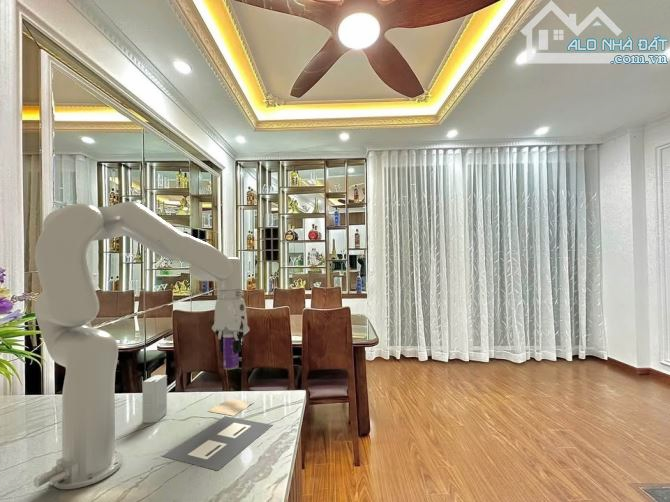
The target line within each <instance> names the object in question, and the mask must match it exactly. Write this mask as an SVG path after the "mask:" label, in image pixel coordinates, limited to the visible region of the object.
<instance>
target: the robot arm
mask: <svg viewBox="0 0 670 502" xmlns="http://www.w3.org/2000/svg"><path fill="white" fill-rule="evenodd" d="M120 237H128V238H130V239H131V240H133V241H135V242H136V243H138V244H140V245H141V246H143V247H145V248H146V249H148V250H150V251H152V252H153V253H154V254H156V255H157V256H159V257H163V258H166V259H168V260H172V261H178V262H183V263H185V264H190V265H189V273H190V275H191V277H192V278H193V279H195V280H196V281H200V282H216V286H217V288H216V289H217V290H216V291H217V292H216V293H217V296H216V297H217V299H216V300H215V305H214V318H213V319H214V321H213V322H214V323H213V325H212V326H211V330H212V331H213V332H214V333H215V335H216V336H217V340H219V352H220V353H223V330H224V328H225V327H227V328H228V330H230V331H233V334H234V338H235V340H234V341H233V352H234V353H238V354H239V353H240V352H242V351H243V350H242V349H243V348H242V346H243V344H242V341H243V339H244V337H245V336H246V334H247V333H248V332H250V330H251V329H250V327H249V326H248V314H247V307H246V302H245V299H244V298H243V296H244V295H245V292H244V291H242V265H241V264H242V262H241V259H240V258H239V257H234V256H233V257H232V256H229V257H228V256H227V255H226V254H224V253H223V252H222V251H220V250H219V249H217V248H216V247H214V246H213V245H211V244H209V243H207V242H205V241H203V240H201V239H199V238H196V237H194V236H192V235H190V234H187V233H185V232H182V231H181V230H179V229H177V228H175V226H173V225H172V224H170V223H168V222H167V221H166V220H164V219H163V218H161V217H160V216H158V215H157V214H156V213H154V212H153V211H151V210H150V209H149V208H148V207H145V206H144V205H143V204H141V203H138V202H136V201H124V202H120V203H116V204H112V205H107V206H98V207H96V206H94V205H92V204H88V203H82V202H80V203H79V202H78V203H72V204H68V205H65V206H63V207H61V208H58V209H55V210H52V211H51V212H49V213H48V214H47V216H46V217H45V218H44V220H43V223H42V231H41V233H40V234H39V237H37V238H38V239H37V241H36V244H35V249H34V261H35V265H36V266H35V267H36V271H37V275H38V278H39V283H40V285H41V289H42V291H40V293H39V294H38V296H37V297H36V300H35V302H34V309H33V310H34V316H35V318H36V321H37V322H36V323H37V326H38V328H39V331H40V333H41V336H42V338H43V341H44V344H45V347H46V349H47V351H48V354H49V357H50V358H51V360H53V362H55V363H56V364H57V365H59V366H62V367H64V368H65V375H64V380H63V385H62V394H61V397H62V399H61V403H62V404H61V409H62V412H61V415H62V416H61V418H62V421H61V422H62V423H61V424H62V425H61V426H62V427H61V439H62V440H61V441H62V442H61V446H62V447H61V452H62V453H61V458H59V459H57V460H56V461H55V462H56V465H55V466H53V467H52V468H51V470H48V471H46V472H44V473H42V474H40V475H38V476H35V477H34V478H33V485H34V487H35V488H39V487H42V486H43V485H45V484H46V483H49V485H50V486H53V487H55V488H56V489H59V490H74V489H80V488H84V487H86V486H87V487H88V486H91V485H93V484H96V483H98V482H101V481H102V480H104V479H106V478H107V477H109V476H111V475H113V474H114V473H115V472H116V471H117V470H118V469H120V467H121V466H122V465H123V461H124V456H123V454H122V453H121V452H119V451H116V448H115V447H116V445H115V444H116V441H115V440H116V439H115V438H116V436H115V435H116V434H115V433H116V432H115V431H116V426H115V425H116V419H115V418H116V416H115V415H116V412H115V411H116V405H115V400H116V398H115V395H116V394H115V387H116V385H115V382H116V369H117V366H118V365H117V364H118V358H119V345H118V342H117V341H116V339H115V337H114V336H113V335H112V334H111V333H109V332H108V331H105V330H103V329H100V328H99V329H98V328H94V327H93V325H92V324H91V322H93V321H94V320H95V318H97V316H98V314H99V312H100V301H99V297H98V295H97V291H96V289H95V286H94V282H93V280H92V277H91V274H90V270H89V265H88V261H87V251H88V248H89V246H90V244H91V242H95V241H102V240H103V241H104V240H107V239H108V240H109V239H114V238H120ZM237 332H238V333H237Z"/></svg>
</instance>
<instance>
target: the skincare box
mask: <svg viewBox="0 0 670 502" xmlns="http://www.w3.org/2000/svg"><path fill="white" fill-rule="evenodd" d="M167 379H168V375H167V374H157V375H156V374H154V375H152V376H151V377H149V378H147V379H145V380H143V381H142V409H141V410H142V415H141V417H142V418H141V420H142V422H141V423H143V424H144V423H145V424H146V423H147V424H150V423H151V424H153V423H157V422H158V421H159V420H160V419H162V418H163V417H164V416H166V414H167V413H168V407H167V406H168V401H167V400H168V392H167V391H168V387H167V386H168V380H167Z"/></svg>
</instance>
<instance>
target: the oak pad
mask: <svg viewBox="0 0 670 502" xmlns="http://www.w3.org/2000/svg"><path fill="white" fill-rule="evenodd" d="M250 402H251V401H245V400H239V399H233V398H228V399H227V400H225V401H223V402H221V403H219V404H218V405H216V406H215V407H213V408H211V409H209V410H208V411H207V412H209V413H214V414H221V415H224V416H229V417H231V416H232V417H235V416H237V415H238V414H240V413H241V412H243V410H245V409H247V408H248V407H249V406H247V405H249V403H250ZM247 403H248V404H247Z"/></svg>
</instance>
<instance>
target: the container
mask: <svg viewBox="0 0 670 502" xmlns="http://www.w3.org/2000/svg"><path fill="white" fill-rule="evenodd" d="M237 333H238V332H237ZM234 340H235V338H234V334H233V331H230V330H228V328H227V327H225V328H224V330H223V352H222V354H223V355H222V356H223V357H222V358H223V370H226V371H229V370H235V369H238V368H239V365H240V364H239V356H240V355H239V352H238V353H234V352H233V341H234Z"/></svg>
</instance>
